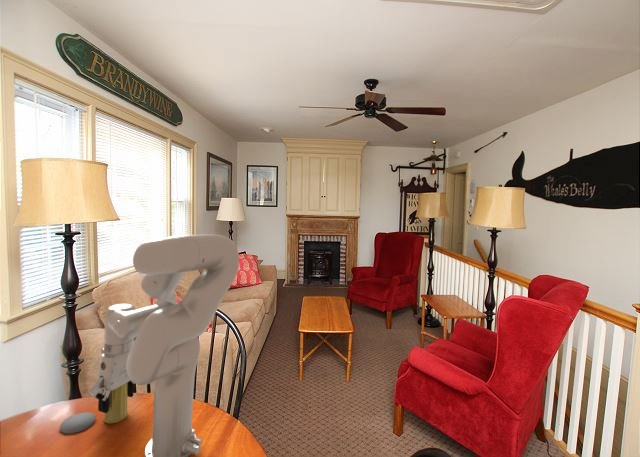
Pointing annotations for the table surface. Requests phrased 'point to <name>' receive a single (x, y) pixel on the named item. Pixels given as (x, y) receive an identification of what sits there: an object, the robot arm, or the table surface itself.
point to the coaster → (77, 423)
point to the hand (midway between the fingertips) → (116, 403)
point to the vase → (117, 405)
